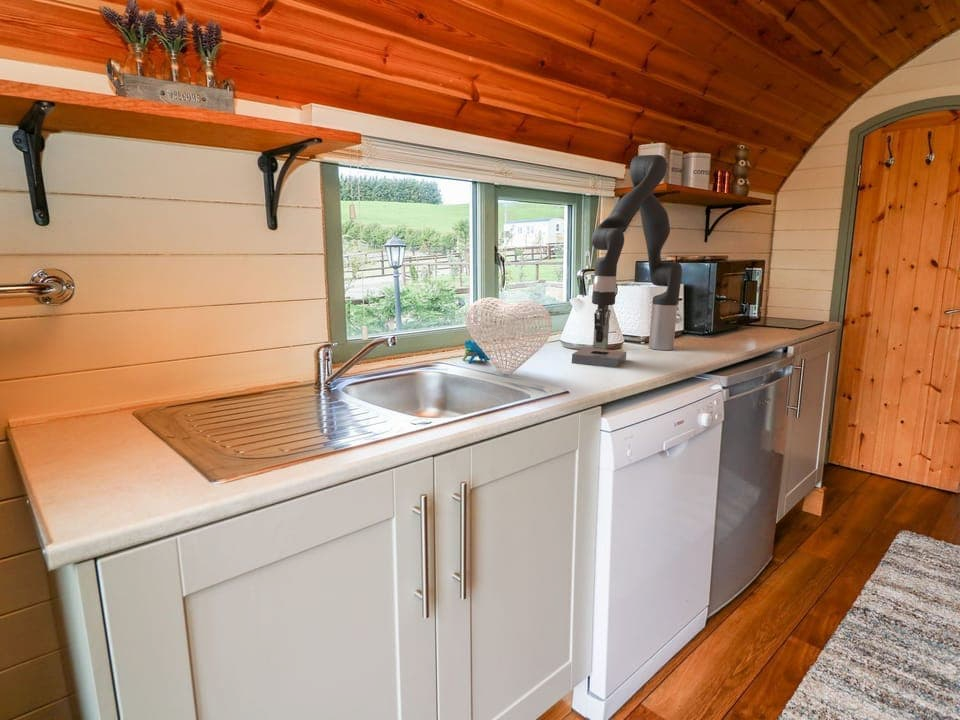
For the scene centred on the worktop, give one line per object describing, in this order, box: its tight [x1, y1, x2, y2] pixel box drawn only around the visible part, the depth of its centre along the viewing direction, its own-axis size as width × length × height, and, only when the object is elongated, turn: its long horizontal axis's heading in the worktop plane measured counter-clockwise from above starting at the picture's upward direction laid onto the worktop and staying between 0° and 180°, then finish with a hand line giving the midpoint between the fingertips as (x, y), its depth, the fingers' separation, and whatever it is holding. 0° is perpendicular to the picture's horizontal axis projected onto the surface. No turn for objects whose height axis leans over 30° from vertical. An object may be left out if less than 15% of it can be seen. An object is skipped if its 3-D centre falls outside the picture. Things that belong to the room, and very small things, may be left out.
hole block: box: [571, 347, 627, 369], centre depth 196 cm, size 15×15×3 cm
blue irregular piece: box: [461, 339, 491, 364], centre depth 189 cm, size 11×6×10 cm
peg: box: [592, 323, 610, 350], centre depth 195 cm, size 4×4×8 cm
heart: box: [465, 296, 553, 375], centre depth 171 cm, size 28×16×22 cm, turn 47°
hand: (600, 341), depth 195 cm, fingers closed on peg, 4 cm apart
